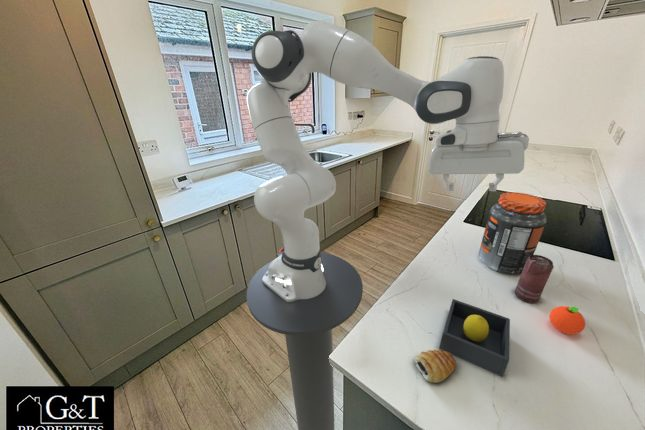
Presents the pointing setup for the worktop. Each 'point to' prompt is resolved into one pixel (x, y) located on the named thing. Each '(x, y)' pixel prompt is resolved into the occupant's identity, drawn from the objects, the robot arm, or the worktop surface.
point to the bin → (482, 354)
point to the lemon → (476, 328)
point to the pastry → (435, 365)
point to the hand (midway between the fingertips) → (470, 190)
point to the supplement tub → (512, 232)
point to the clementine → (567, 319)
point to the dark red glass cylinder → (533, 278)
